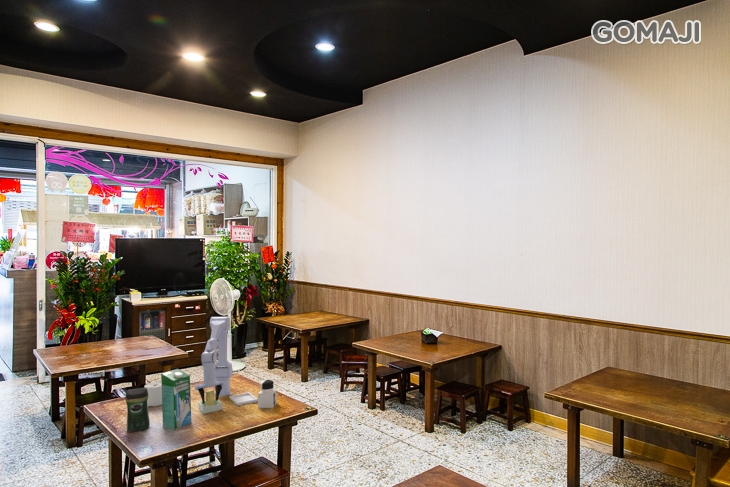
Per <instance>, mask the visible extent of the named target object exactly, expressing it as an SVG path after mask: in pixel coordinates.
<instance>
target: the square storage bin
mask: <svg viewBox="0 0 730 487" xmlns="http://www.w3.org/2000/svg"><path fill="white" fill-rule="evenodd" d="M197 403H198V409H199V411H200V412H201V413H202V414H208V413H213V412H214V413H215V412H218V411H222V410H223V409H224V408H223V402H221V400H220V399H218V401H216V398H214V404H215V405H211V406H206V400H205V403H202V401H198V402H197Z"/></svg>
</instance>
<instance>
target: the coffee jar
mask: <svg viewBox="0 0 730 487" xmlns="http://www.w3.org/2000/svg"><path fill="white" fill-rule="evenodd" d="M147 400H148V390H147V388H144V387H139V388H133V389H128V390H127V391H126V393H125V403H126V408H127V413H126V431H127V432H129V431H134V432H138V431H139V432H140V431H143V430H147V429H148V428H149V427H150V424H151V423H150V422H151V421H150V415H149V410H148V406H147Z"/></svg>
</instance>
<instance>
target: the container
mask: <svg viewBox="0 0 730 487" xmlns="http://www.w3.org/2000/svg"><path fill="white" fill-rule="evenodd" d="M274 386H275V385H274V381H273V380H271V379H264V380H262V381H260V391H259V392H258V393H257V399H258V402H257V407H258V409H273V408H275V406H276V405H277V402H278V398H277V396H278V394H277V391H278V390H277V388H275V387H274Z"/></svg>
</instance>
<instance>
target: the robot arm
mask: <svg viewBox="0 0 730 487" xmlns="http://www.w3.org/2000/svg"><path fill="white" fill-rule="evenodd" d="M209 327H210V329H211V334H210V339H208V340H207V342H206V345H205V349H204V351H203V352H202V353H201V356H200V357H201V359H200V360H201V365H202V366H201V367H202V368H203V369H202V370H203V371H202V372H203V383H201V384H197V385H194V391H198V393H199V395H200V398H201V402H202V403H205V401H206V397H205V395H206V390H204V389H208V388H215V390H214V396H215V399H216V401H218V400H219V398H221V397H225V396H232V395H233V393H232V392H231V378H232V377H233V372H234V370H233V364H232V363H231V362H230V361H229V360H228V331H231V319H230V317H229V316H211V317H210V319H209Z"/></svg>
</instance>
